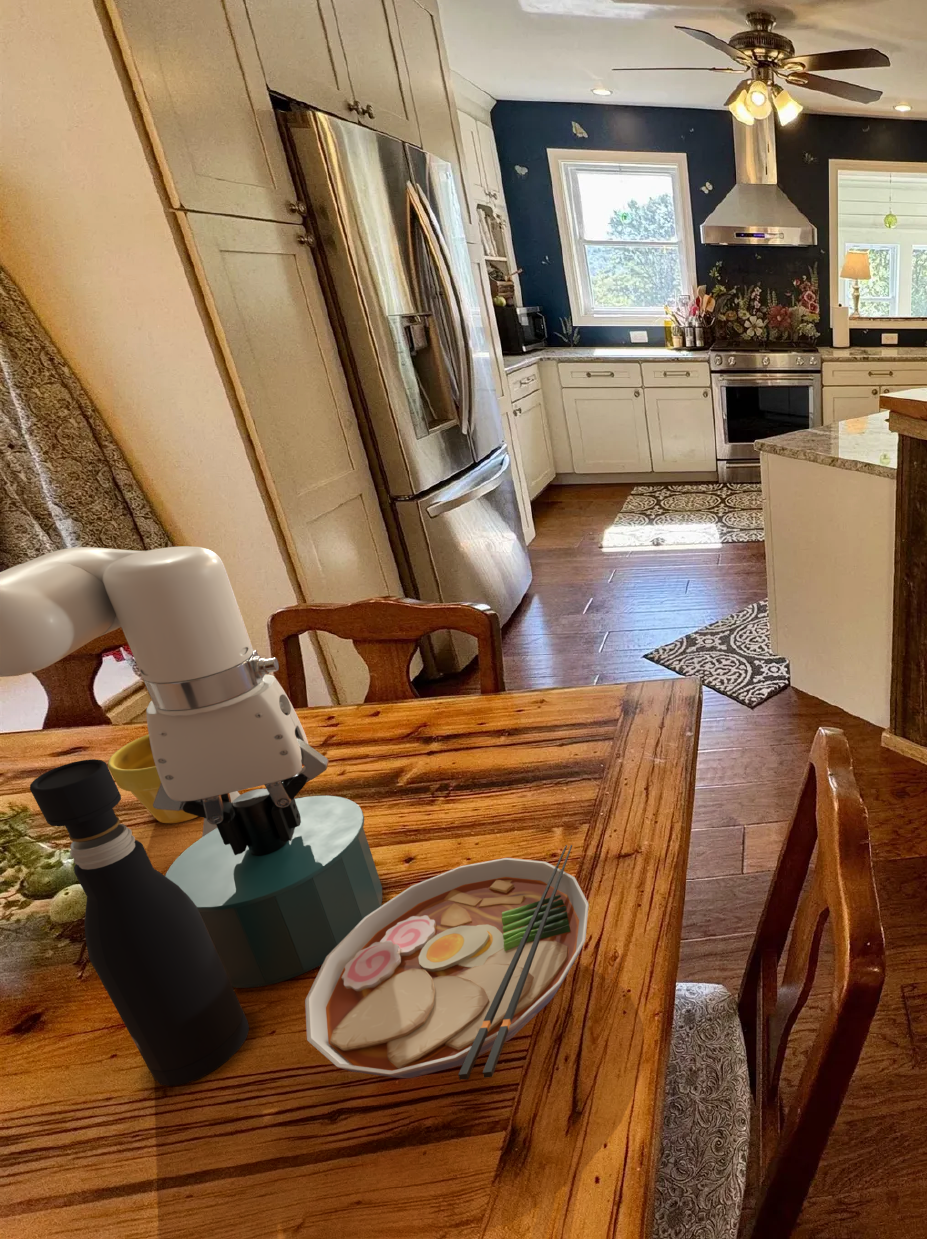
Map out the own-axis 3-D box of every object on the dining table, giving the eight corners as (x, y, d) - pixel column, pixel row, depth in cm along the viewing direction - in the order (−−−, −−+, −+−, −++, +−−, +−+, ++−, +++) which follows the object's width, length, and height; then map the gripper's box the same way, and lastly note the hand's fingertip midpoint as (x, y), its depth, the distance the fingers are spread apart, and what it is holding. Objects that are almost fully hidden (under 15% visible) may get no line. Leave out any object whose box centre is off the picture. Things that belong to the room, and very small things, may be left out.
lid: (139, 942, 61) (108, 880, 59) (195, 831, 74) (171, 776, 72) (356, 878, 69) (337, 821, 66) (373, 787, 81) (357, 736, 79)
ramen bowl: (415, 907, 78) (398, 849, 75) (625, 895, 80) (617, 838, 77) (250, 1162, 54) (215, 1094, 51) (552, 1135, 57) (536, 1068, 54)
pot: (187, 1013, 66) (147, 930, 62) (229, 903, 78) (198, 828, 74) (375, 950, 72) (349, 872, 69) (387, 858, 84) (366, 787, 81)
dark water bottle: (267, 1015, 66) (153, 748, 55) (209, 1086, 60) (67, 802, 49) (197, 1016, 65) (68, 748, 54) (131, 1087, 59) (-28, 802, 48)
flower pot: (223, 823, 89) (197, 759, 86) (118, 843, 86) (86, 777, 82) (255, 775, 98) (233, 716, 95) (161, 792, 95) (134, 731, 91)
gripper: (323, 646, 71) (368, 794, 77) (101, 682, 63) (171, 842, 70) (310, 679, 65) (360, 836, 71) (62, 723, 57) (144, 894, 64)
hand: (266, 837), depth 71 cm, fingers closed on lid, 3 cm apart
